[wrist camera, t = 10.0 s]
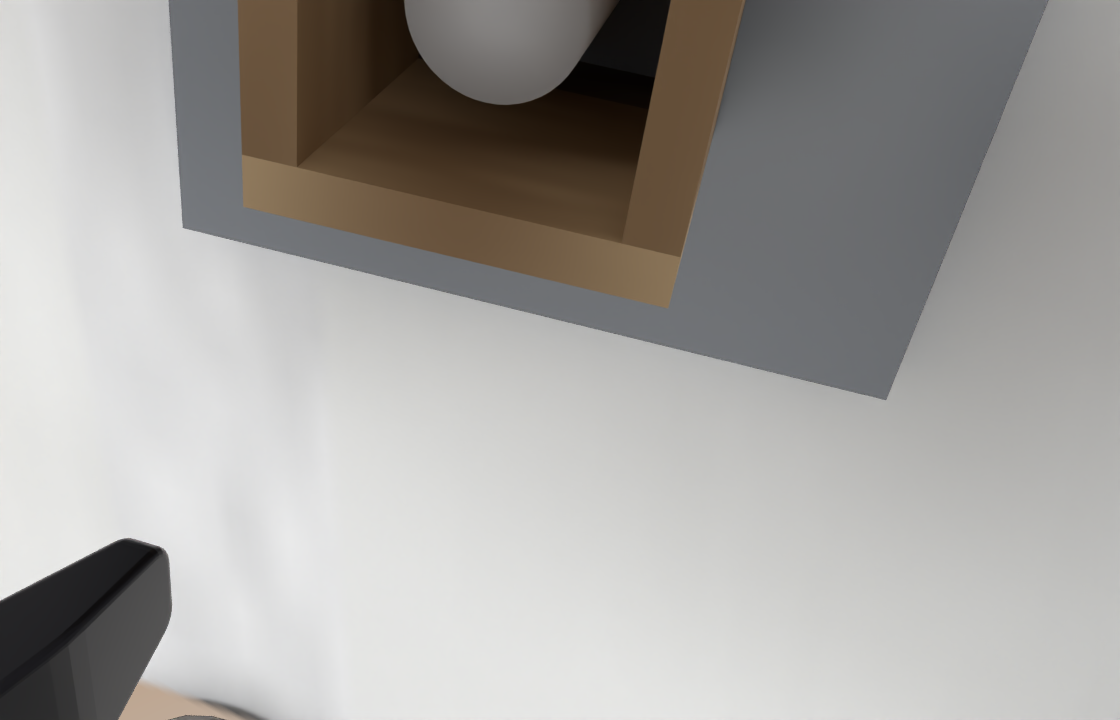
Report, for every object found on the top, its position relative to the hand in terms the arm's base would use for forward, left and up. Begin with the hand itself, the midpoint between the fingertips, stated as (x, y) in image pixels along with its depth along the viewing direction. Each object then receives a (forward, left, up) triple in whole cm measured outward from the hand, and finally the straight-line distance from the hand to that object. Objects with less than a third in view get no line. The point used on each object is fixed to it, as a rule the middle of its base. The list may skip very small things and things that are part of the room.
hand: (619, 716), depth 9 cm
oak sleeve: (+3, -4, -11) cm, 12 cm away
